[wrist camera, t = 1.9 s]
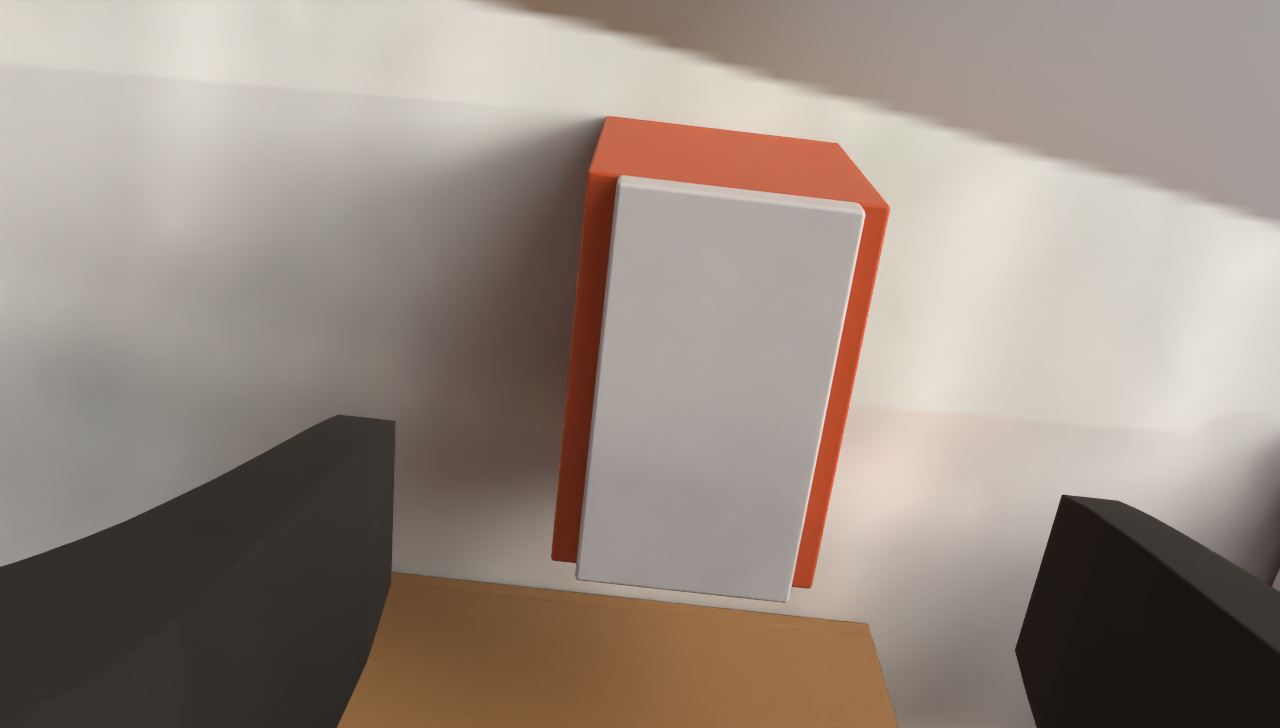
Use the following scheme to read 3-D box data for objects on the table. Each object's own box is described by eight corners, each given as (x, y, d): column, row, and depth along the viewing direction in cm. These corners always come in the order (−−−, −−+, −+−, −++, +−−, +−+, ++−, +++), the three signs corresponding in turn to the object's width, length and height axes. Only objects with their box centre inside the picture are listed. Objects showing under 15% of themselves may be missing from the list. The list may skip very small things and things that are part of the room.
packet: (839, 142, 18) (898, 215, 13) (781, 454, 20) (815, 607, 16) (605, 115, 18) (585, 178, 13) (574, 431, 20) (547, 578, 16)
